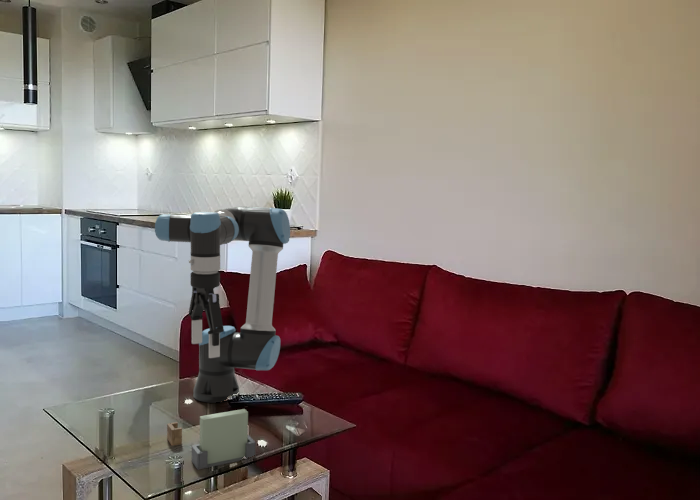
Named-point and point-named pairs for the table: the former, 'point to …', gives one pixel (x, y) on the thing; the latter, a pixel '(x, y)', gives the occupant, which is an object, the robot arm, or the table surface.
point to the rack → (174, 434)
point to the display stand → (201, 461)
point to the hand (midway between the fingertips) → (205, 350)
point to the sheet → (224, 435)
